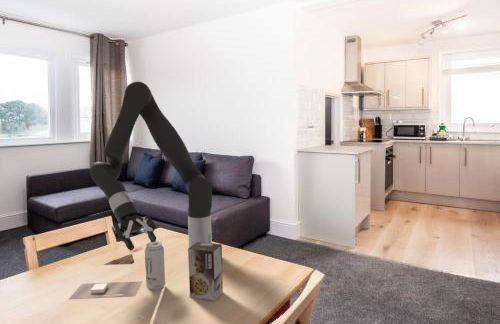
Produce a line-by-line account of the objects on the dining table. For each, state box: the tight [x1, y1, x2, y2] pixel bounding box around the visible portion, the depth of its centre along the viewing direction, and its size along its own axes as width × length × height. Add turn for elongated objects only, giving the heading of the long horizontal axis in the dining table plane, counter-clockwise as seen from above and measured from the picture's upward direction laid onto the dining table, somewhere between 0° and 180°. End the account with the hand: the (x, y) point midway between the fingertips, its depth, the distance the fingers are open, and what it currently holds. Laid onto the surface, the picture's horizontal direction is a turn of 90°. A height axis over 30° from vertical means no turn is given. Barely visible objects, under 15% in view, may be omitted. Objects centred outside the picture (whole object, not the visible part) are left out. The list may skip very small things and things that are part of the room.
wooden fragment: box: [103, 253, 135, 266], centre depth 131 cm, size 26×11×1 cm, turn 165°
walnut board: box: [68, 280, 143, 300], centre depth 111 cm, size 20×10×1 cm, turn 94°
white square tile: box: [91, 282, 109, 293], centre depth 111 cm, size 4×4×1 cm
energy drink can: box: [144, 241, 166, 290], centre depth 114 cm, size 6×6×15 cm
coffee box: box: [187, 242, 224, 302], centre depth 109 cm, size 9×6×16 cm
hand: (143, 245), depth 116 cm, fingers open, 8 cm apart
